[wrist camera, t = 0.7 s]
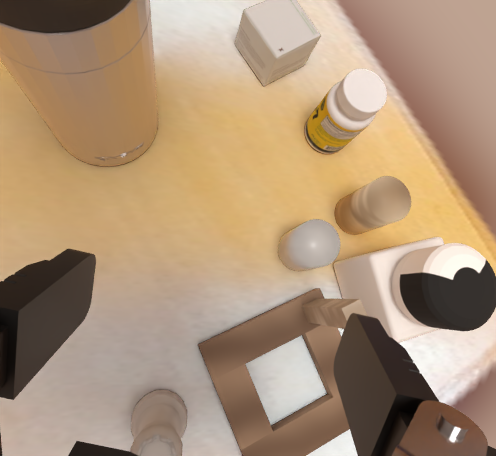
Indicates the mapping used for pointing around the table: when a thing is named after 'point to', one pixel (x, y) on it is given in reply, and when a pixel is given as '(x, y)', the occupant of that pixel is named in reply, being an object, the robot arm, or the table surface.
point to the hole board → (264, 340)
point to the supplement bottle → (345, 111)
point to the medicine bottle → (421, 287)
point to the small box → (276, 38)
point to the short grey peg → (309, 246)
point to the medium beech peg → (373, 206)
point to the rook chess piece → (158, 424)
